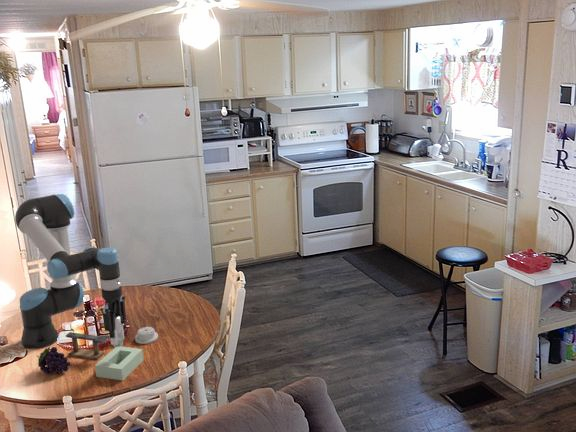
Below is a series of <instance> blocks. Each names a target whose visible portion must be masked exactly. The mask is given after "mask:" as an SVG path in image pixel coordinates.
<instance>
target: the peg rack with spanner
mask: <svg viewBox="0 0 576 432" xmlns="http://www.w3.org/2000/svg"><path fill="white" fill-rule="evenodd" d="M65 338H70V339H71V343H72V350H71V351H70V352H69V353H68V356H69V357H74V358H83V359H90V360H95V361H98V360H99V359H100V358H101V357H103V356H104V354H105V351H102V350H100V348H99V344H104V343H105V342H106V341H107V340H108V339H110V335H105V334H101V335H94V334H87V333H86V334H85V333H78V332H71V331H70V332H68V333H67V334H65ZM78 340H84V341H92V348H93V349H88V348H87V349H86V348H79V344H78Z"/></svg>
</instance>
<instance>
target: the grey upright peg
mask: <svg viewBox="0 0 576 432" xmlns="http://www.w3.org/2000/svg"><path fill="white" fill-rule="evenodd" d="M115 329H116V331H117V339H118V345H112V346H113V347H114V348H115V347H120V346H122V347H123V345H124V340H123V336H122V327H121V319H120V316H119V315H115Z"/></svg>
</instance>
